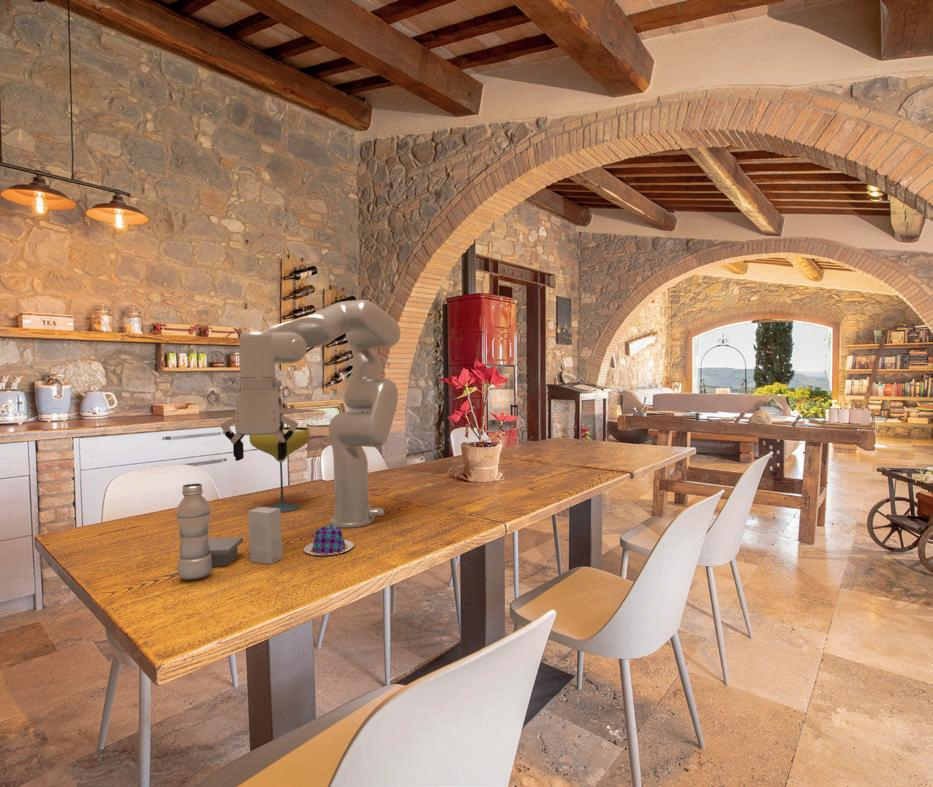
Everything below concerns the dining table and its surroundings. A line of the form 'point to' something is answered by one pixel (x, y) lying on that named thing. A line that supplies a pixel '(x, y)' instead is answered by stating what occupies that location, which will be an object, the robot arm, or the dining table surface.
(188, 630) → the dining table surface
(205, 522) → the plastic bottle
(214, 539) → the stand
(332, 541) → the pudding
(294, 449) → the cocktail glass
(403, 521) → the dining table surface
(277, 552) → the skincare box
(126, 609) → the dining table surface
